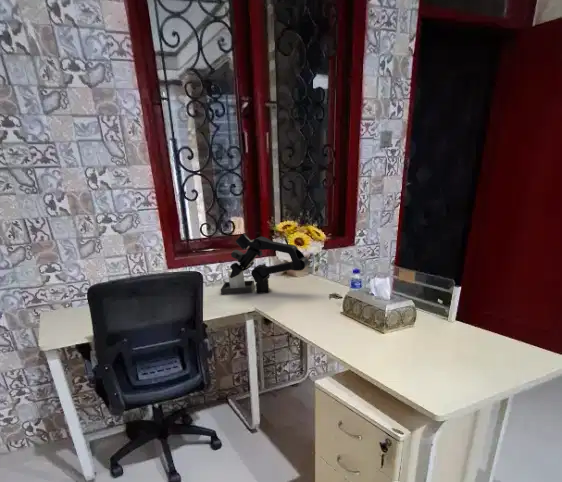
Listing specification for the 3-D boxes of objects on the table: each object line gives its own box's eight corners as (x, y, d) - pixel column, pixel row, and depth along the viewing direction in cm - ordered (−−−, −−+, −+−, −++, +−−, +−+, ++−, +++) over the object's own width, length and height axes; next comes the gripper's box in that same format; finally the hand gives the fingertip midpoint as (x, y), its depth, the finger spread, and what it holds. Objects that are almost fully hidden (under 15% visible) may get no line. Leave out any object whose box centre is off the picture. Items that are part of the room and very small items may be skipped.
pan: (254, 285, 242) (253, 280, 241) (251, 292, 231) (251, 287, 229) (225, 287, 244) (224, 282, 242) (221, 294, 232) (220, 289, 231)
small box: (245, 288, 236) (243, 270, 231) (237, 291, 233) (235, 272, 228) (238, 286, 241) (235, 268, 236) (229, 288, 238) (227, 270, 233)
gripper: (246, 241, 231) (231, 260, 240) (231, 249, 216) (215, 269, 225) (260, 255, 232) (245, 274, 241) (246, 264, 217) (230, 284, 226)
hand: (234, 275), depth 233 cm, fingers open, 9 cm apart
